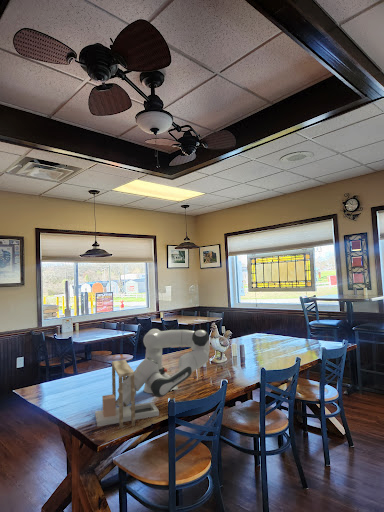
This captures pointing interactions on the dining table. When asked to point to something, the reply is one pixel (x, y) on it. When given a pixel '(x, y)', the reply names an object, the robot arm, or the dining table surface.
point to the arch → (122, 371)
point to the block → (109, 405)
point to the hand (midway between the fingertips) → (116, 404)
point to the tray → (128, 414)
